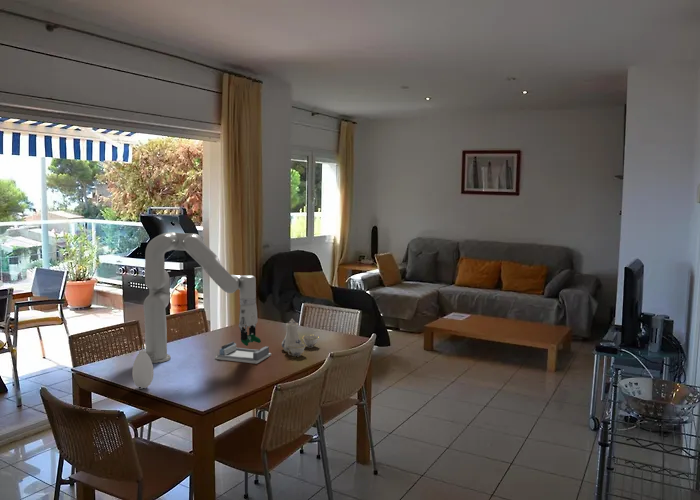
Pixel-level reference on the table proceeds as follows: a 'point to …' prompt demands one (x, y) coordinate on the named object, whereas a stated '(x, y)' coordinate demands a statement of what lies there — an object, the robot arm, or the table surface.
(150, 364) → the white tall teardrop piece
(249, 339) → the gaming controller
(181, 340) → the table surface
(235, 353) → the vise base
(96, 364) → the table surface
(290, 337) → the chinaware
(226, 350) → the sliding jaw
